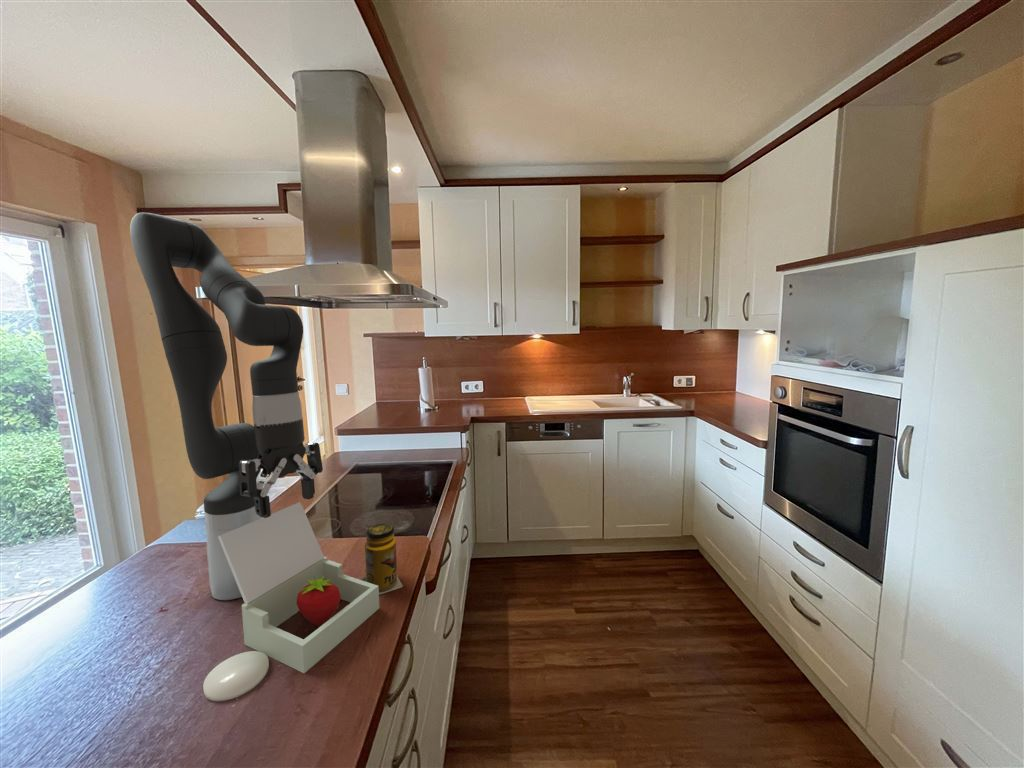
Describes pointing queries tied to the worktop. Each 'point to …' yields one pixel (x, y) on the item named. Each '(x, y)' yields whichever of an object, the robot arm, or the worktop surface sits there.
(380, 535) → the condiment
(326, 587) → the strawberry
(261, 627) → the cold frame
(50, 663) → the worktop surface
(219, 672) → the cream white rounded part
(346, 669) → the worktop surface
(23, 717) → the worktop surface
